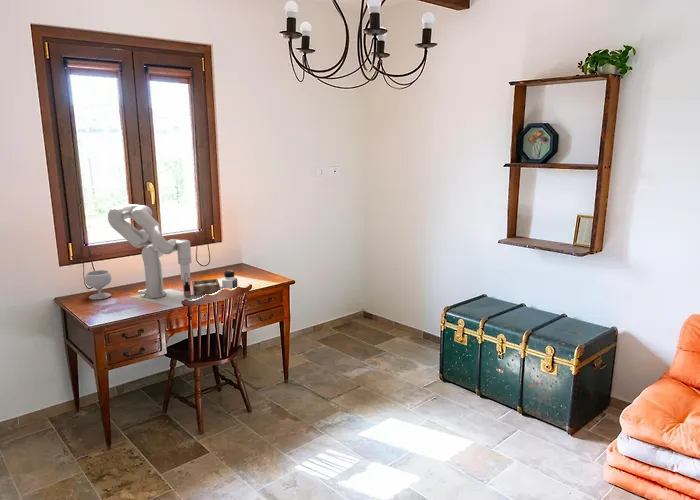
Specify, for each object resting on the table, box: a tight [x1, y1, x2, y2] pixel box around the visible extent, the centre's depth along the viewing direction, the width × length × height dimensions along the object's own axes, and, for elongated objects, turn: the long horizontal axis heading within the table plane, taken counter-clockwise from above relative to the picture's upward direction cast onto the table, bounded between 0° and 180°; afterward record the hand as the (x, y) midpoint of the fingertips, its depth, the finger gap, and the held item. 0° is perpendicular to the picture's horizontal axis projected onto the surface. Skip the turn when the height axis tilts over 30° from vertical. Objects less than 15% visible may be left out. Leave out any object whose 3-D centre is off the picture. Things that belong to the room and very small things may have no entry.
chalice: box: [84, 270, 112, 300], centre depth 301 cm, size 14×14×15 cm
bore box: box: [192, 278, 221, 297], centre depth 311 cm, size 15×14×6 cm
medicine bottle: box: [221, 270, 239, 289], centre depth 316 cm, size 7×7×12 cm
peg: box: [182, 279, 192, 298], centre depth 303 cm, size 4×4×12 cm
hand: (186, 289), depth 304 cm, fingers closed on peg, 4 cm apart
